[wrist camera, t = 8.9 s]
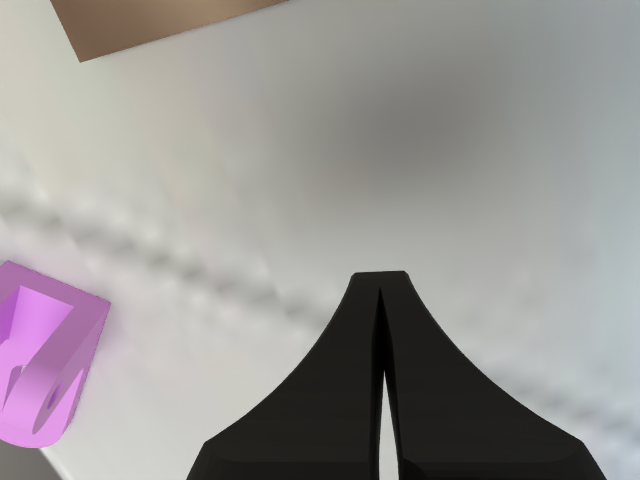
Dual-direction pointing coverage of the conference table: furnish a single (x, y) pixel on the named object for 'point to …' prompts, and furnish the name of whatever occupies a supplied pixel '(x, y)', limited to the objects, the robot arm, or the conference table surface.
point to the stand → (139, 20)
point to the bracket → (43, 353)
